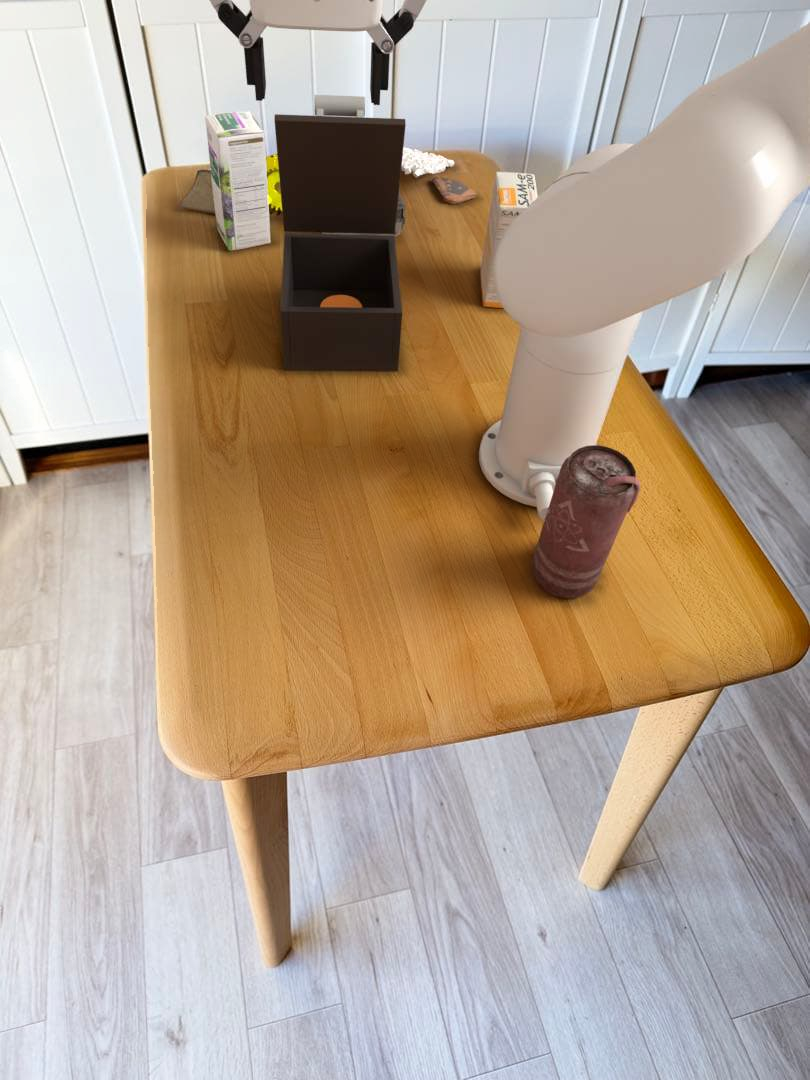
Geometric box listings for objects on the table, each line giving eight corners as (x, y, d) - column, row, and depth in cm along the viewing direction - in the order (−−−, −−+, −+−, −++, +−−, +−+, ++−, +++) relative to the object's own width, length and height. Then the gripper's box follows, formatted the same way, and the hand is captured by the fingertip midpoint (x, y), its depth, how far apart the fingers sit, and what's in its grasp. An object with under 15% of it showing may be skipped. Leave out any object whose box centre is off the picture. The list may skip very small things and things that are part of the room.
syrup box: (215, 229, 106) (201, 114, 95) (259, 221, 108) (250, 108, 96) (229, 252, 103) (215, 137, 92) (273, 244, 105) (265, 129, 93)
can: (597, 607, 72) (643, 505, 61) (527, 593, 73) (560, 489, 62) (601, 555, 76) (645, 449, 65) (534, 541, 77) (566, 435, 66)
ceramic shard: (257, 176, 107) (253, 173, 106) (252, 219, 108) (249, 217, 107) (187, 166, 108) (182, 163, 106) (183, 209, 109) (178, 207, 108)
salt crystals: (457, 169, 121) (460, 158, 120) (420, 184, 104) (423, 170, 104) (334, 136, 124) (335, 124, 123) (278, 145, 107) (280, 131, 107)
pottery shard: (479, 192, 114) (447, 195, 112) (477, 202, 115) (446, 205, 113) (458, 171, 118) (427, 173, 116) (457, 180, 119) (426, 183, 117)
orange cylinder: (362, 353, 91) (363, 320, 87) (320, 353, 91) (320, 319, 87) (360, 328, 94) (361, 294, 90) (320, 327, 93) (320, 294, 90)
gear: (287, 135, 104) (243, 173, 108) (281, 142, 102) (236, 181, 105) (327, 188, 108) (283, 223, 112) (322, 197, 105) (277, 232, 109)
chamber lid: (405, 124, 79) (403, 84, 80) (274, 120, 78) (275, 79, 79) (394, 234, 93) (393, 198, 95) (283, 231, 92) (284, 195, 94)
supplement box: (521, 310, 99) (542, 210, 89) (481, 308, 99) (498, 206, 89) (516, 271, 104) (536, 172, 94) (479, 269, 104) (494, 169, 94)
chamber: (398, 371, 91) (402, 312, 85) (284, 370, 90) (280, 311, 83) (391, 293, 100) (394, 235, 94) (287, 291, 99) (284, 232, 92)
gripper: (178, -161, 53) (211, 112, 66) (443, -144, 54) (423, 120, 67) (190, -188, 57) (218, 72, 71) (434, -171, 59) (416, 80, 72)
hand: (318, 95), depth 69 cm, fingers open, 9 cm apart
